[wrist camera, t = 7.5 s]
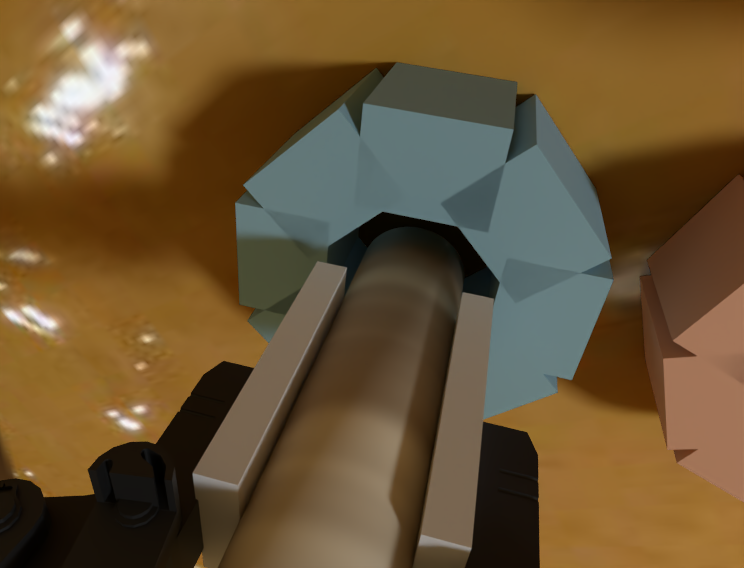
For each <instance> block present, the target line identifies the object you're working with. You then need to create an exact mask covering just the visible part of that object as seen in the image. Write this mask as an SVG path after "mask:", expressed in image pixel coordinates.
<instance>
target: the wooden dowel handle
mask: <svg viewBox="0 0 744 568" xmlns="http://www.w3.org/2000/svg"><path fill="white" fill-rule="evenodd" d="M464 279H465V272H464V266H463V263H462V260H461V258H460V256H459V254H458V252H457V251H456V249H455V248H454V247H453V246H452V245H451V244H450V243H449V242H448V241H447V240H446V239H444V238H443V237H441V236H440V235H438V234H436V233H434V232H432V231H429V230H426V229H423V228H417V227H399V228H395V229H391V230H389V231H386V232H384V233H382V234H381V235H379V236H378V237H377V238H375V239H374V240H373V241H372V243H371V244H370V245H369V246H368V248H367V250H366V252H365V254H364V256H363V258H362V260H361V263H360V265H359V267H358V269H357V271H356V273H355V275H354V278H353V280H352V282H351V284H350V286H349V288H348V290H347V293H346V295H345V297H344V299H343V301H342V303H341V305H340V308H339V310H338V312H337V314H336V316H335V318H334V320H333V323H332V325H331V327H330V329H329V331H328V333H327V335H326V337H325V340H324V342H323V344H322V346H321V348H320V350H319V352H318V355H317V357H316V359H315V361H314V363H313V365H312V367H311V370H310V372H309V374H308V376H307V378H306V380H305V382H304V384H303V387H302V389H301V391H300V393H299V395H298V397H297V399H296V402H295V404H294V406H293V408H292V410H291V412H290V414H289V417H288V419H287V421H286V423H285V425H284V427H283V429H282V431H281V434H280V436H279V438H278V440H277V442H276V444H275V446H274V449H273V451H272V453H271V455H270V457H269V459H268V461H267V463H266V466H265V468H264V470H263V472H262V474H261V476H260V478H259V481H258V483H257V485H256V487H255V489H254V491H253V493H252V496H251V498H250V500H249V502H248V504H247V506H246V508H245V510H244V513H243V515H242V517H241V519H240V521H239V523H238V525H237V527H236V529H235V532H234V534H233V536H232V538H231V540H230V542H229V544H228V547H227V549H226V551H225V553H224V555H223V557H222V559H221V561H220V564H219V566H218V568H412V567H413V561H414V556H415V550H416V544H417V539H418V533H419V527H420V522H421V516H422V510H423V505H424V499H425V493H426V488H427V482H428V476H429V470H430V465H431V459H432V453H433V448H434V442H435V436H436V431H437V425H438V419H439V414H440V408H441V402H442V396H443V391H444V385H445V379H446V374H447V368H448V362H449V357H450V351H451V345H452V340H453V334H454V328H455V323H456V318H457V314H458V310H459V306H460V301H461V296H462V291H463V285H464Z"/></svg>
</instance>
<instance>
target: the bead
mask: <svg viewBox="0 0 744 568" xmlns="http://www.w3.org/2000/svg"><path fill="white" fill-rule="evenodd" d="M516 93H517V82H513V81H507V80H501V79H495V78H489V77H483V76H477V75H471V74H464V73H458V72H452V71H446V70H440V69H434V68H428V67H422V66H416V65H410V64H403V63H396V64H395V65H394V66H393V67H392V69H391V70H390V71H389V72H388V74H387V75H386V76H385V77H383V76H382V75H381V73H380V72H379V70H378V69H377V68H375V69H374V70H373V71H372V72H370V73H369V74H368V75H367V76H365V77H364V78H363V79H362V80H361V81H359V82H358V83H357V84H356V85H354V86H353V87H352V88H351V89H349V90H348V91H347V92H346V93H344V94H343V95H342V96H341V97H339V98H338V99H337V100H336V101H335V102H333V103H332V104H331V105H330V106H328V107H327V108H326V109H325V110H323V111H322V112H321V113H320V114H318V115H317V116H316V117H315V118H313V119H312V120H311V121H310V122H309V123H307V124H306V125H305V126H304V127H302V128H301V129H300V130H299V131H297V132H296V133H295V134H294V135H293V136H292V137H291V138H290V139H289V140H288V141H287V142H286V143H285V144H284V145H283V146H282V147H281V148H280V149H279V150H278V151H277V152H276V153H275V154H274V155H273V156H272V157H271V158H270V159H269V160H268V161H267V162H266V163H265V164H264V165H263V166H262V167H261V168H260V169H259V170H258V171H257V172H256V173H255V174H254V175H253V176H252V177H251V178H250V179H249V180H248V181H247V182H246V183H245V184H243V186H244V187H245V188H246V189H247V191H246V192H245V193H244V194H243V195H242V196H241V197H240V198H239V199H238V201H237V202H236V203H235V208H236V232H237V257H238V281H239V305H244V306H248V307H253V308H256V309H255V310H254V312H253V313H252V314H251V316H250V317H249V319H248V320H247V321H248V322H249V323H250V324H251V325H252V326H253V327H254V328H255V329H256V330H257V331H258V332H259V333H260V334H261V335H262V337H263V338H264V339H265V340H266V341H267V342H268V343H270V341H271V339H272V338H273V336H274V334H275V332H276V331H277V329H278V327H279V326H280V324H281V322H282V321H283V319H284V317H285V315H286V314H287V312H288V310H289V309H290V307H291V305H292V304H293V302H294V300H295V299H296V297H297V295H298V293H299V292H300V290H301V288H302V287H303V285H304V283H305V282H306V280H307V278H308V277H309V275H310V273H311V271H312V270H313V268H314V266H315V265H316V263H317V261H319V262H324V263H328V264H333V265H338V266H342V267H347V270H346V281H345V292H344V297H345V295H346V293H347V290H348V288H349V286H350V284H351V282H352V280H353V278H354V275H355V273H356V271H357V269H358V267H359V265H360V263H361V260H362V258H363V256H364V254H365V252H366V250H367V247H366V245H365V244H364V243H363V242H362V240H361V239H360V238H359V237H358V234H359V226H361V225H362V224H364V223H365V222H367V221H368V220H370V219H372V218H373V217H375V216H376V215H378V214H379V213H381V212H387V213H392V214H397V215H402V216H407V217H413V218H418V219H423V220H428V221H433V222H438V223H443V224H448V225H453V226H458V227H459V229H460V230H461V231H462V233H463V234H464V235H465V237H466V238H467V239H468V241H469V242H470V243H471V245H472V246H473V247H474V249H475V250H476V251H477V253H478V254H479V255H480V257H481V258H482V259H483V261H484V262H485V263H486V265H487V266H488V267H486V268H484V269H482V270H480V271H478V272H476V273H474V274H472V275H470V276H468V277H466V278H465V279H464V285H463V291H462V293H463V292H465V293H470V294H474V295H479V296H484V297H488V298H493V299H494V304H493V315H492V326H491V337H490V349H489V360H488V371H487V382H486V393H485V405H484V416H483V419H486V418H489V417H492V416H494V415H497V414H500V413H503V412H505V411H508V410H511V409H514V408H516V407H519V406H522V405H525V404H527V403H530V402H533V401H536V400H538V399H541V398H544V397H547V396H549V395H552V394H555V393H558V391H557V377H560V378H564V379H569V380H572V379H573V376H574V374H575V371H576V369H577V367H578V364H579V362H580V359H581V357H582V355H583V352H584V350H585V347H586V345H587V343H588V340H589V338H590V335H591V333H592V331H593V328H594V326H595V323H596V321H597V319H598V316H599V314H600V311H601V309H602V307H603V304H604V302H605V299H606V297H607V295H608V292H609V290H610V288H611V285H612V283H613V280H614V279H613V274H612V270H611V265H610V261H609V260H610V259H612V257H611V253H610V248H609V244H608V240H607V235H606V231H605V226H604V222H603V217H602V213H601V208H600V204H599V199H598V195H597V190H596V188H595V187H594V185H593V184H592V182H591V180H590V179H589V177H588V176H587V174H586V173H585V171H584V169H583V168H582V166H581V165H580V163H579V161H578V160H577V158H576V157H575V155H574V154H573V152H572V150H571V149H570V147H569V146H568V144H567V143H566V141H565V139H564V138H563V136H562V135H561V133H560V132H559V130H558V128H557V127H556V125H555V124H554V122H553V121H552V119H551V117H550V116H549V114H548V113H547V111H546V110H545V108H544V106H543V105H542V103H541V102H540V100H539V98H538V97H537V95H536V94H535V95H534V96H532V97H531V98H529V99H527V100H526V101H524V102H523V103H521V104H520V105H518V106H517V107H515V106H516ZM461 297H462V296H461Z"/></svg>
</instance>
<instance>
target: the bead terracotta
mask: <svg viewBox="0 0 744 568" xmlns="http://www.w3.org/2000/svg"><path fill="white" fill-rule="evenodd" d="M647 262H648V265H649V268H650V271H651V275H648V276H640V289H641V304H642V319H643V334H644V350H645V361H646V365H647V369H648V373H649V377H650V381H651V385H652V389H653V393H654V397H655V401H656V405H657V409H658V413H659V418H660V422H661V426H662V430H663V434H664V438H665V442H666V446H667V450H674V454H675V457H676V461H677V463H678V464H680V465H681V466H683V467H685V468H686V469H688V470H690V471H691V472H693V473H695V474H697V475H698V476H700V477H702V478H703V479H705V480H707V481H708V482H710V483H712V484H714V485H715V486H717V487H719V488H720V489H722V490H724V491H725V492H727V493H729V494H731V495H732V496H734V497H736V498H737V499H739V500H741V501H742V502H744V178H743V177H742V176H740V175H739V174H738V175H737V176H736V177H735V178H734V179H733V180H732V181H731V182H730V183H729V184H728V185H726V186H725V187H724V188H723V189H722V190H721V191H720V192H719V193H718V194H717V195H716V196H715V197H714V198H713V199H712V200H711V201H709V202H708V203H707V204H706V205H705V206H704V207H703V208H702V209H701V210H700V211H699V212H698V213H697V214H696V215H695V216H693V217H692V218H691V219H690V220H689V221H688V222H687V223H686V224H685V225H684V226H683V227H682V228H681V229H680V230H679V231H678V232H676V233H675V234H674V235H673V236H672V237H671V238H670V239H669V240H668V241H667V242H666V243H665V244H664V245H663V246H662V247H660V248H659V249H658V250H657V251H656V252H655V253H654V254H653V255H652V256H651V257H650V258H649V259H648V260H647Z"/></svg>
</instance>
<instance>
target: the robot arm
mask: <svg viewBox="0 0 744 568" xmlns="http://www.w3.org/2000/svg"><path fill="white" fill-rule="evenodd" d="M346 270H347V267H342V266H338V265H333V264H328V263H324V262H319V261H317V263H316V265H315V266H314V268H313V270H312V271H311V273H310V275H309V277H308V278H307V280H306V282H305V283H304V285H303V287H302V288H301V290H300V292H299V293H298V295H297V297H296V299H295V300H294V302H293V304H292V305H291V307H290V309H289V310H288V312H287V314H286V315H285V317H284V319H283V321H282V322H281V324H280V326H279V327H278V329H277V331H276V332H275V334H274V336H273V338H272V339H271V341H270V343H269V344H268V346H267V348H266V349H265V351H264V353H263V354H262V356H261V358H260V360H259V361H258V363H257V365H256V366H255V368H251V367H247V366H243V365H239V364H235V363H230V362H226V361H223V362H221V363H220V364H218V365H217V366H215V367H214V368H213V369H211V370H210V371H208V372H207V373H205V374H204V375H203V376H202V378H201V379H200V381H199V382H198V384H197V385H196V386H195V388H194V389H193V391H192V392H191V396H190V397H188V398H187V400H186V401H185V402H184V404H183V405H182V407H181V410H180V412H178V413H177V414H176V415H175V417H174V418H173V420H172V421H171V423H170V424H169V426H168V427H167V429H166V430H165V431H164V433H163V434H162V436H161V437H160V439H159V440H158V442H157V443H156V444H153V443H150V442H129V443H126V444H123V445H120V446H116V447H113V448H112V449H110V450H109V451H107V452H106V453H104V454H102V455H101V456H99V457H98V458H97V459H96V461H95V462H94V463H93V464H92V465H91V467H90V468H89V469H88V472H89V475H90V479H91V482H92V486H93V490H94V493H95V494H92V495H85V496H64V497H43V494H42V491H41V489H40V488H39V487H38V486H36V485H35V484H34V483H32V482H31V481H27V480H21V479H8V480H2V481H0V568H194V566H195V564H196V562H197V560H198V558H199V556H200V554H201V552H202V555H203V564H204V567H208V568H218V566H219V564H220V561H221V559H222V557H223V555H224V553H225V551H226V549H227V547H228V544H229V542H230V540H231V538H232V536H233V534H234V532H235V529H236V527H237V525H238V523H239V521H240V519H241V517H242V515H243V513H244V510H245V508H246V506H247V504H248V502H249V500H250V498H251V496H252V493H253V491H254V489H255V487H256V485H257V483H258V481H259V478H260V476H261V474H262V472H263V470H264V468H265V466H266V463H267V461H268V459H269V457H270V455H271V453H272V451H273V449H274V446H275V444H276V442H277V440H278V438H279V436H280V434H281V431H282V429H283V427H284V425H285V423H286V421H287V419H288V417H289V414H290V412H291V410H292V408H293V406H294V404H295V402H296V399H297V397H298V395H299V393H300V391H301V389H302V387H303V384H304V382H305V380H306V378H307V376H308V374H309V372H310V370H311V367H312V365H313V363H314V361H315V359H316V357H317V355H318V352H319V350H320V348H321V346H322V344H323V342H324V340H325V337H326V335H327V333H328V331H329V329H330V327H331V325H332V323H333V320H334V318H335V316H336V314H337V312H338V310H339V308H340V305H341V303H342V301H343V299H344V292H345V281H346ZM493 304H494V299H493V298H488V297H484V296H479V295H474V294H470V293H465V292H463V293H462V297H461V301H460V306H459V310H458V314H457V318H456V323H455V328H454V334H453V340H452V345H451V351H450V357H449V362H448V368H447V374H446V379H445V385H444V391H443V396H442V402H441V408H440V414H439V419H438V425H437V431H436V436H435V442H434V448H433V453H432V459H431V465H430V470H429V476H428V482H427V488H426V493H425V499H424V505H423V510H422V516H421V522H420V527H419V533H418V539H417V544H416V550H415V556H414V561H413V567H412V568H540V558H539V502H538V497H539V494H538V454H537V452H536V450H535V448H534V446H533V444H532V441H531V439H530V437H529V435H528V433H527V432H524V431H519V430H515V429H511V428H507V427H503V426H499V425H494V424H490V423H486V422H483V416H484V405H485V393H486V382H487V371H488V360H489V349H490V337H491V326H492V315H493Z"/></svg>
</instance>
